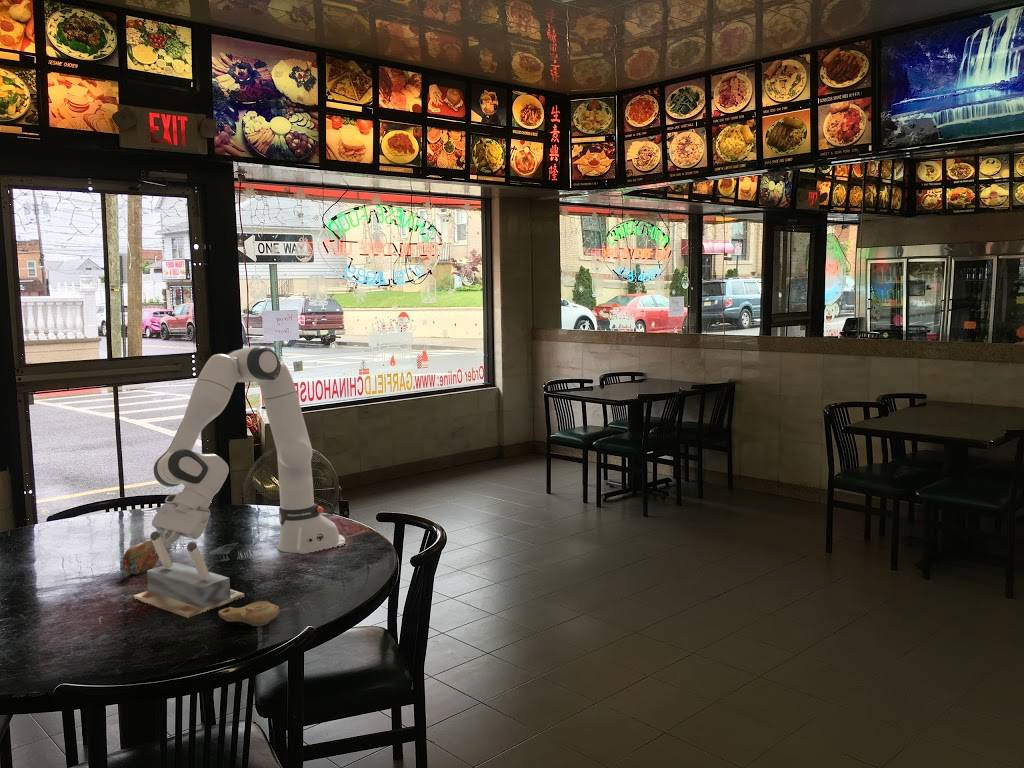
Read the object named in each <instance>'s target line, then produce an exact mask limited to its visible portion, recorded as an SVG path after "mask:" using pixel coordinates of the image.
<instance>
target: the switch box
mask: <svg viewBox="0 0 1024 768" xmlns="http://www.w3.org/2000/svg"><path fill="white" fill-rule="evenodd" d="M172 564H173V566H172V567H171V568H166V567H163V565H160V566H157V567H154V568H153V567H152V568H151V569H150V568H149V569H147V570H146V576H147V590H146V591H143V592H140V593H137V594H134V595H133V599H134V598H135V599H134V600H136V599H138V600H137V601H139V600H140V602H142V603H145V604H147V603H148V605H150V604H151V605H150V606H153V605H154V607H157V608H159V609H162V610H164V611H168V612H170V613H172V614H176V615H179V616H182V617H185V618H187V619H189V618H192V617H194V616H196V615H199V614H202V612H203V613H206V612H208V611H210V609H211V610H212V609H216V608H219V607H221V606H224V605H226V604H229V603H233V602H234V600H235V601H237V600H240V599H242V597H243V598H245V593H243V592H240V591H237V590H234V589H231V584H230V583H231V582H230V581H231V580H230V577H227V576H224V575H222V574H217V573H214V572H211V571H208V572H209V574H210V576H211V577H210V578H209V579H208V580H205V579H201V578H200V576H199V574H198V572H197V569H196V567H195V566H194V567H193V566H190V565H187V564H185V563H181V562H177V561H173V562H172ZM239 598H240V599H239ZM207 610H208V611H207Z"/></svg>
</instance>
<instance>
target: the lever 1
mask: <svg viewBox="0 0 1024 768" xmlns="http://www.w3.org/2000/svg"><path fill="white" fill-rule="evenodd" d="M149 538H150V540H152V542H153V545H154V547H155V549H156V551H157V554H158V556H159V558H158V559H159V560H160V563H161V566H163V567H166V568H171V567H172V566H173V564H172V563H173V562H172V560H171V558H170V555H169V553H168V550H167V547H165V546H164V543H163V541H162V539H163V538H162V536H161V533H159V532H158V531H153V532H151V533H150V535H149Z"/></svg>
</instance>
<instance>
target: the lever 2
mask: <svg viewBox="0 0 1024 768" xmlns="http://www.w3.org/2000/svg"><path fill="white" fill-rule="evenodd" d="M186 549H187V552H188V553H189V556H190V558H191V560H192V563H193V565H194V568H196V569H197V572H198V574H199V576H200V578H201V579H205V580H208V579H209V578H210V577H211V576H210V574H209V572H210V571H209V570H208V567H207V565H206V563H205V560H204V558H203V556H202V554H201V551H200V549H199V547H198V545H197V542H193V541H191V542H188V543H187V544H186Z"/></svg>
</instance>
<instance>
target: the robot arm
mask: <svg viewBox="0 0 1024 768" xmlns="http://www.w3.org/2000/svg"><path fill="white" fill-rule="evenodd" d="M253 382H256V384H258V386H259V388H260V393H261V397H262V401H263V405H264V408H265V411H266V412H265V413H266V415H267V419H268V423H269V427H270V430H271V434H272V437H273V438H272V439H273V441H274V447H275V450H276V456H277V469H278V470H277V473H278V487H279V503H280V506H279V507H278V517H279V518H278V520H279V521H278V522H279V524H280V532H279V539H278V545H277V550H278V551H280V552H285V553H295V554H302V555H306V554H310V552H311V553H315V551H316V552H319V550H320V551H324V550H323V549H325V550H330V549H333V548H332V547H334V548H338V547H337V546H339V547H342V545H343V546H344V544H345V545H346V543H345V542H346V538H345V537H344V536H343V535H342V534H339V530H338V527H337V526H336V524H335V522H334V521H332V520H330V519H329V518H327V517H326V516H324V515H322V513H324V508H323V507H322V505H321V506H320V505H318V504H317V503H315V501H314V500H315V499H314V481H313V470H312V458H313V455H314V454H313V452H314V451H313V447H312V443H311V440H310V436H309V433H308V429H307V425H306V422H305V419H304V415H303V411H302V408H301V404H300V400H299V397H298V392H297V388H296V385H295V382H294V379H293V376H292V374H291V373H290V370H289V368H288V366H287V365H286V364H285V363H284V362H282V361H281V360H280V359H279V356H278V355H277V353H276V352H275V350H273V349H272V348H271V347H268V346H263V345H258V346H248V347H243V348H241V349H237V350H232V351H229V352H228V353H226V354H225V353H217V354H216V353H215V354H213V355H211V357H209V358H208V360H207V361H206V363H205V364H204V366H203V368H202V369H201V371H200V373H199V375H198V377H197V379H196V381H195V384H194V386H193V389H192V391H191V395H190V398H189V401H188V403H187V406H186V410H185V412H184V414H183V415H184V416H183V418H182V420H181V422H180V424H179V426H178V429H177V431H176V432H175V435H174V437H173V439H172V441H171V443H170V444H169V445H170V446H169V447H168V448H167V450H166V451H165V452H164V453H163V454H162V455H160V457H158V459H156V461H155V462H154V465H153V475H154V478H155V480H156V481H157V482H158V483H159V484H161V485H162V486H163V487H164V486H165V487H169V488H174V487H177V486H180V485H183V486H184V487H183V490H182V491H181V492H177V493H175V494H170V495H167V496H166V498H165V499H164V502H165V503H164V504H163V505H161V507H160V508H159V509H158V511H157V512H156V514H155V515H154V517H153V518H152V521H151V526H152V527H153V528H155V529H157V530H158V531H161V532H163V533H162V534H163V535H162V538H161V539H162V541H163V543H164V546H165V548H166V549H169V548H171V547H172V545H173V544H174V543H175V542H177V541H179V539H180V538H181V537H184V538H185V537H186V538H189V539H193V540H198V539H199V538H200V537H201V536H202V534H203V532H204V531H205V529H206V527H207V525H208V523H209V520H210V516H211V510H210V508H209V506H210V505H211V503H212V501H213V498H214V496H215V495H216V494H217V493H218V492H219V491H220V490H221V488H222V486H223V484H224V483H225V481H226V479H227V477H228V474H229V472H230V471H229V470H230V468H229V465H228V463H227V462H226V461H225V460H224V459H223V458H222V457H221V456H220V455H217V454H215V453H200V452H195V451H193V448H194V447H195V444H196V443H197V440H198V439H199V438H198V437H199V435H200V434H201V432H202V430H204V429H205V427H206V426H208V424H209V423H211V422H212V421H213V420H214V419H215V418H217V417H218V416H220V415H221V414H222V412H223V411H224V410H225V408H226V407H227V405H228V403H229V401H230V399H231V396H232V395H233V392H234V388H235V386H236V384H238V383H239V384H240V383H253ZM329 548H330V549H329Z"/></svg>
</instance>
